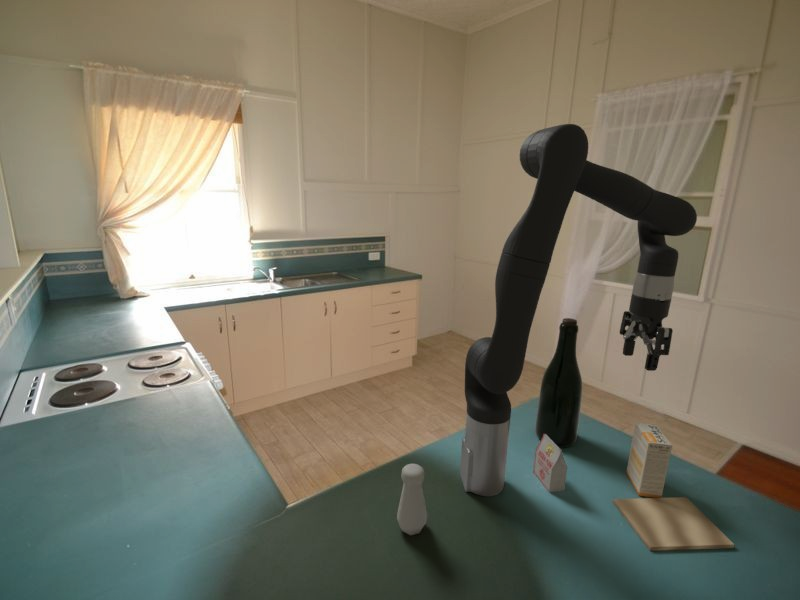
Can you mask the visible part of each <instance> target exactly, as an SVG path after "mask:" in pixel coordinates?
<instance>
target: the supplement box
mask: <svg viewBox="0 0 800 600" xmlns="http://www.w3.org/2000/svg"><path fill="white" fill-rule="evenodd" d="M632 433H633V435H632V439H631V444H630V449H629V450H630V451H629V456H628V462H627V467H626V474H627V476H628V478H629V479H630V482H631V484H632V485H633V487H634V489H635V491H636V493H637V495H638V496H640V497H645V498H663V497H662V496H663V493H664V486H665V482H666V478H667V471H668V470H669V469H668V468H669V463H670V459H671V454H672V449H673V444H672V443H671V442H670V441H669V439H668V438H667V437H666V436H665V434H664V433H663V432H662V430H661V429H660V427H659V426H658V425H657V424H656V425H655V424H648V423H641V422H640V423H637V422H635V423H634V428H633V432H632Z"/></svg>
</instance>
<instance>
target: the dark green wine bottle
mask: <svg viewBox="0 0 800 600" xmlns="http://www.w3.org/2000/svg"><path fill="white" fill-rule="evenodd" d="M561 321H562V322H560V324H559V328H558V331H559V332H558V339H557V344H556V348H555V352H554V354H553V357H552V358H551V360H550V362H549V364H548V365H547V368H546V369H545V371H544V373H543V375H542V379H541V383H540V389H539V395H538V404H537V410H536V418H535V427H534V433H535V435H536V437H537V438H538V439H539V440H540V441H541V440H542V437H543V435H544V434H546V435H547V436H548V437H549V438H550V439H551V440H552V441H553V442H554V443H555V444H556V445H557V446H558V447H559V448H564V447H566V448H567V447H571V446H572V445H574V444H575V443H576V442H577V438H578V433H579V432H578V431H579V424H580V416H581V415H580V414H581V409H582V408H581V407H582V396H583V378H582V375H581V372H580V368H579V367H580V366H579V364H578V359H577V342H578V341H577V340H578V333H579V325H578V321H577V319H574V318H570V317H569V318H568V317H566V318H563V319H562V320H561Z"/></svg>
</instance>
